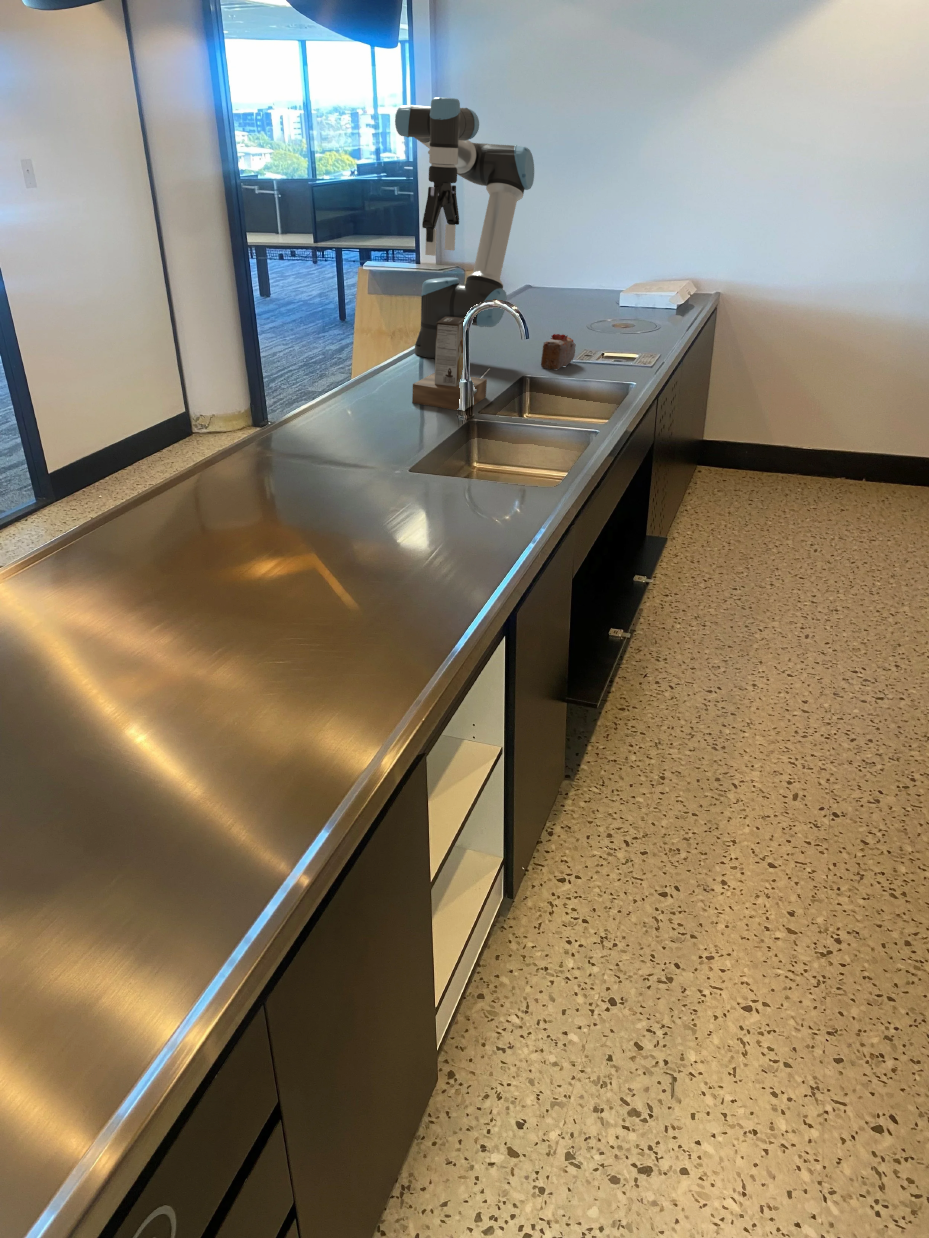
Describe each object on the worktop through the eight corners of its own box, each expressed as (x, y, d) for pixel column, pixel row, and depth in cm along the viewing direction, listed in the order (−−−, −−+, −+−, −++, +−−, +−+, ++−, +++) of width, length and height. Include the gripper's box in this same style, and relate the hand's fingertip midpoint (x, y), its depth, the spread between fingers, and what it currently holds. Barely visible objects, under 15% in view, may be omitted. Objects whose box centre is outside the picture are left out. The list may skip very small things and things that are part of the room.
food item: (552, 359, 290) (555, 328, 285) (575, 363, 287) (579, 332, 282) (538, 368, 278) (541, 335, 274) (562, 371, 276) (565, 339, 271)
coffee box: (442, 376, 242) (445, 315, 234) (465, 379, 241) (468, 318, 233) (433, 384, 234) (436, 321, 226) (457, 387, 233) (460, 324, 225)
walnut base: (436, 389, 249) (436, 371, 247) (485, 397, 245) (486, 379, 242) (412, 402, 236) (412, 384, 234) (464, 411, 232) (465, 392, 229)
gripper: (447, 163, 244) (444, 246, 254) (410, 166, 223) (409, 256, 234) (473, 165, 241) (469, 249, 252) (438, 168, 221) (435, 258, 231)
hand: (440, 252), depth 243 cm, fingers open, 13 cm apart
